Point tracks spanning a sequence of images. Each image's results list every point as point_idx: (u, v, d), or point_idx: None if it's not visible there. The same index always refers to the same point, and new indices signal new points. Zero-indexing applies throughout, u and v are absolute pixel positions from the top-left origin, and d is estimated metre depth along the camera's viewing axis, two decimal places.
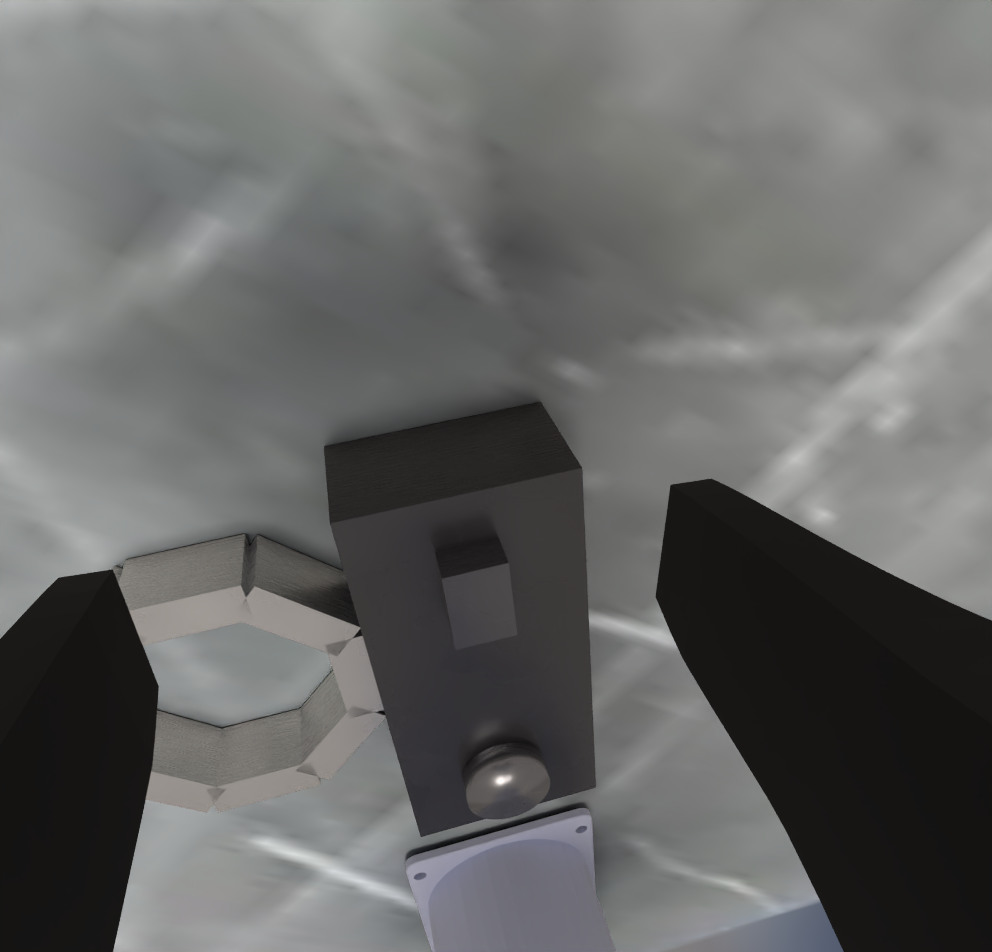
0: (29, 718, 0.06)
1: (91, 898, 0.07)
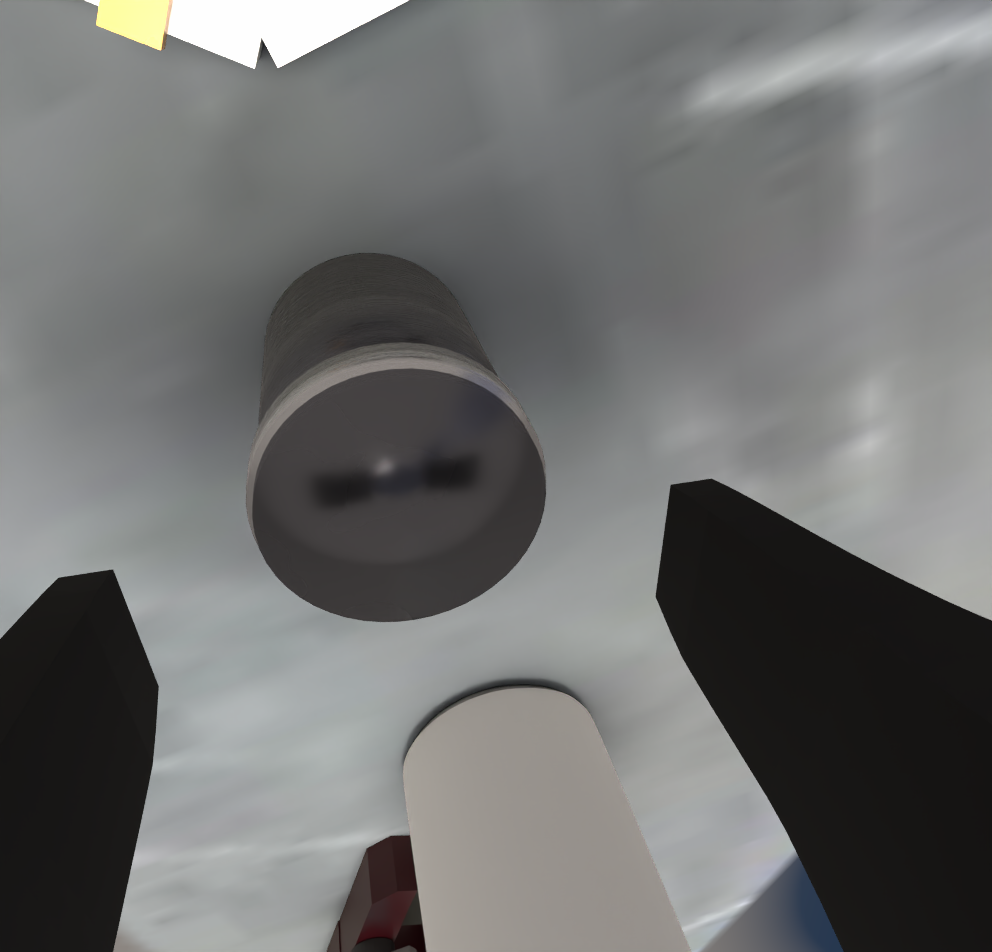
0: (29, 718, 0.06)
1: (91, 898, 0.07)
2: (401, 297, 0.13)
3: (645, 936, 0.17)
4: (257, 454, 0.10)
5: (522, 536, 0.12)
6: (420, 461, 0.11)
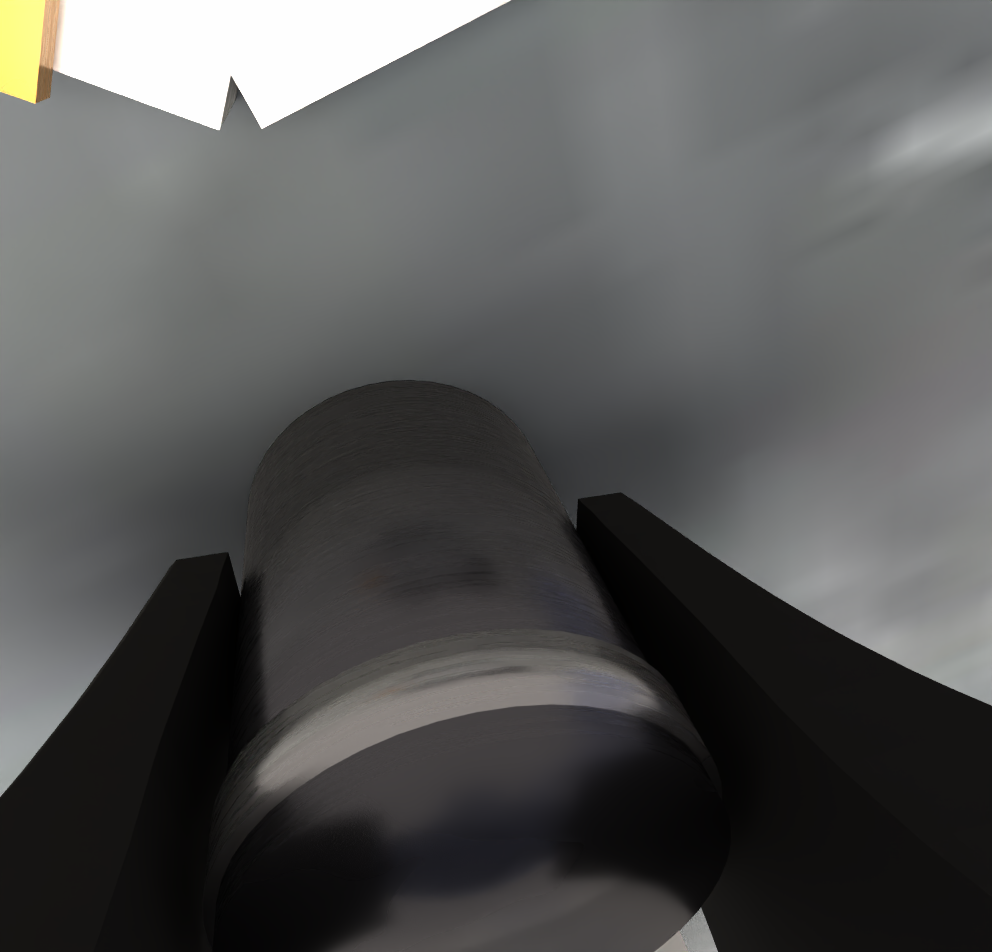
0: (186, 689, 0.07)
1: None
2: (462, 483, 0.08)
3: None
4: (221, 860, 0.06)
5: (678, 913, 0.07)
6: (523, 853, 0.06)
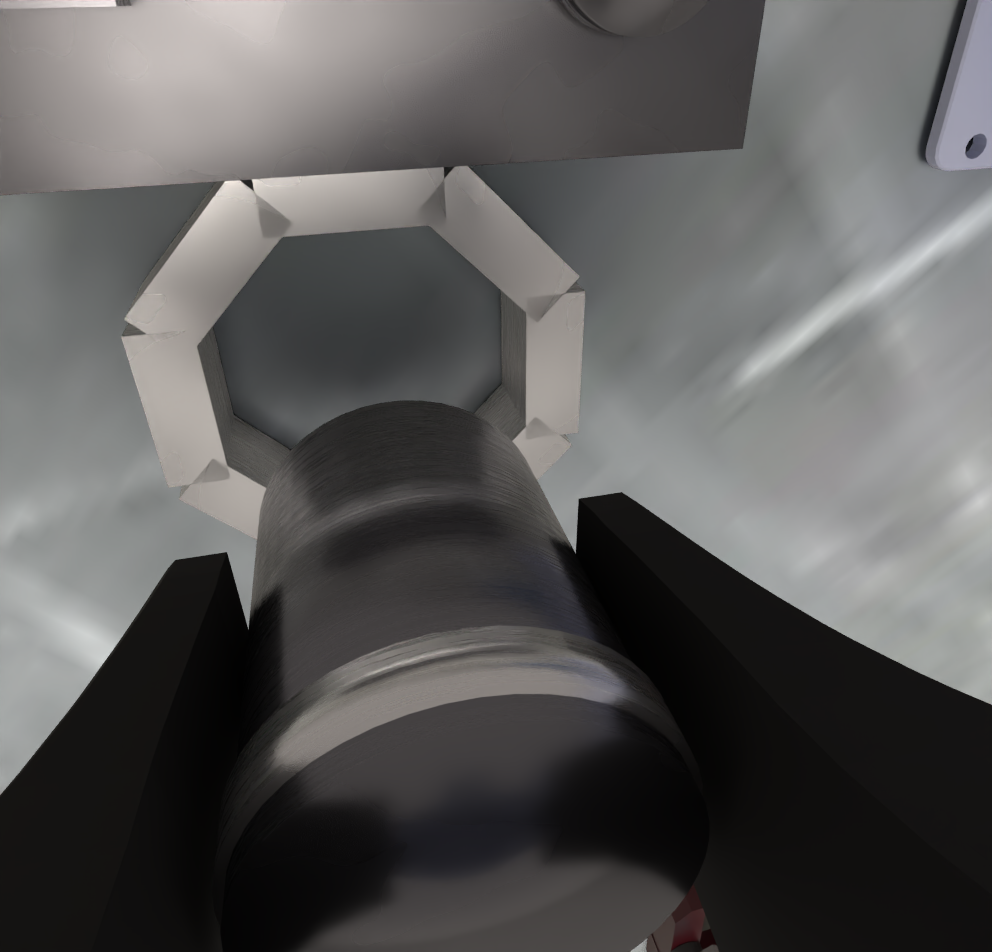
0: (184, 689, 0.07)
1: None
2: (446, 494, 0.08)
3: None
4: (224, 851, 0.06)
5: (669, 894, 0.07)
6: (503, 836, 0.06)
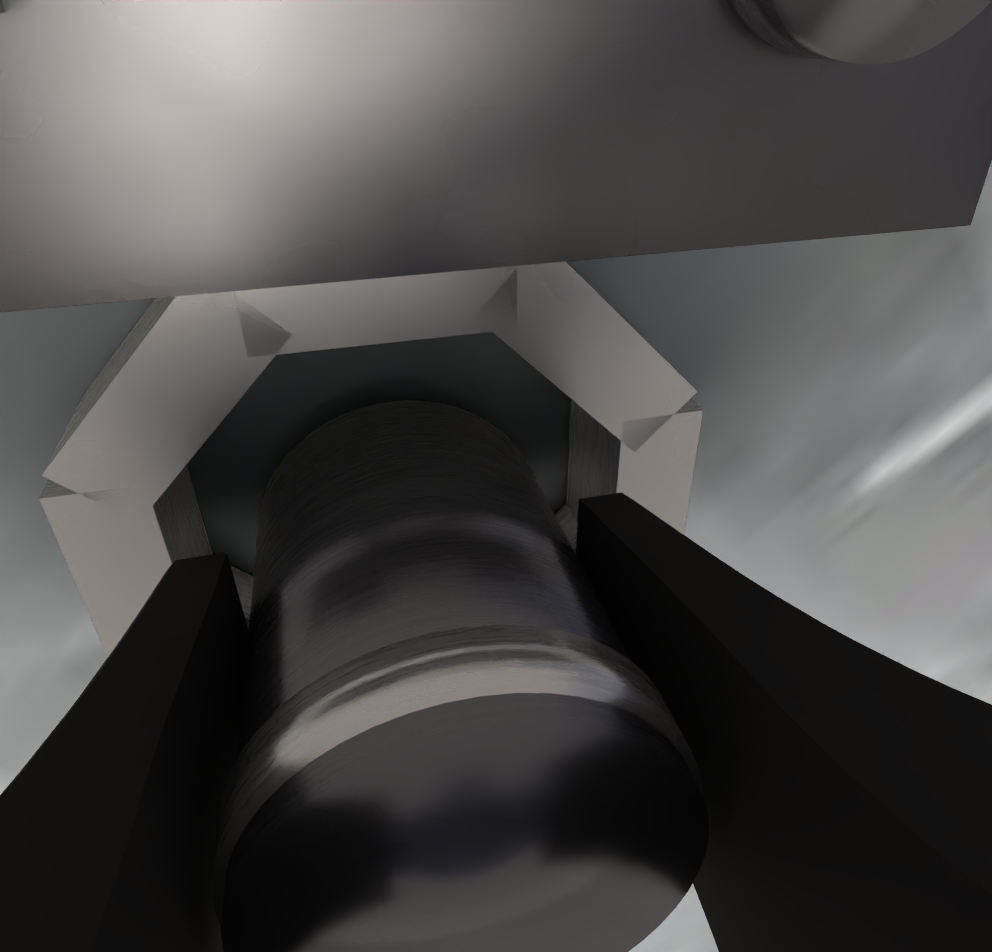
0: (184, 690, 0.07)
1: None
2: (445, 493, 0.08)
3: None
4: (224, 850, 0.06)
5: (669, 893, 0.07)
6: (503, 835, 0.06)
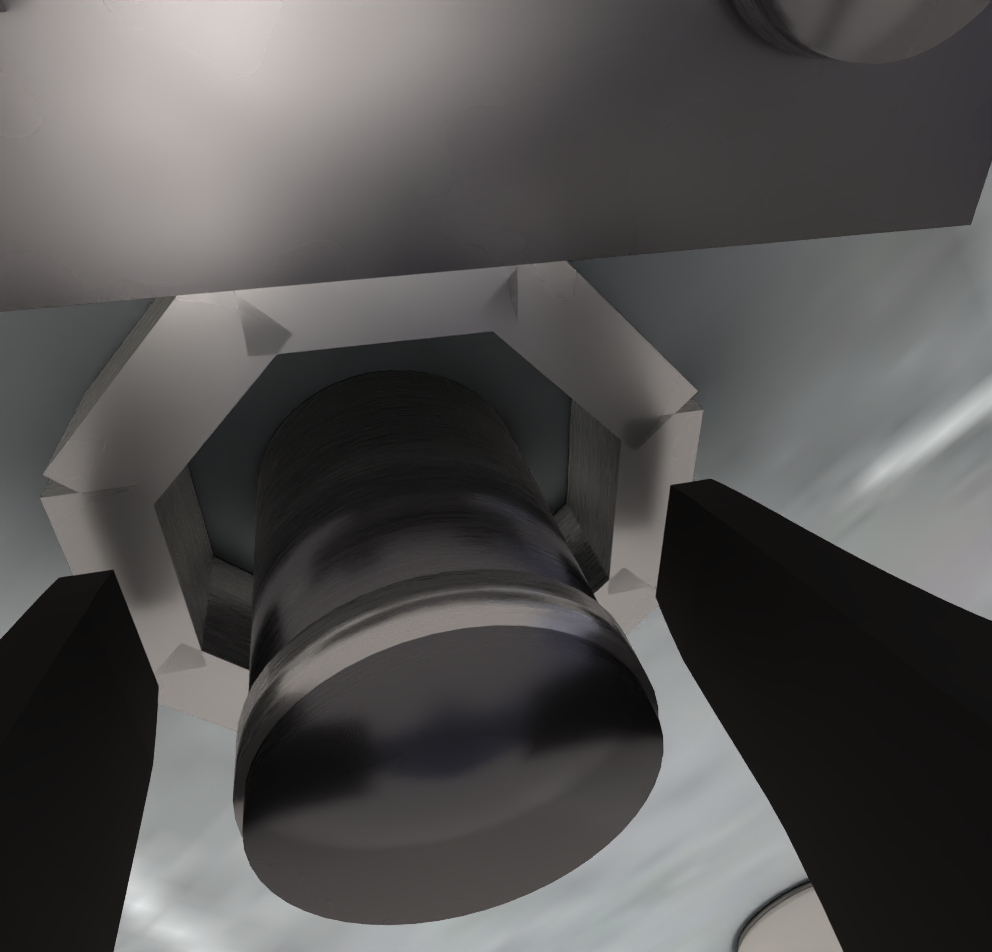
0: (30, 718, 0.06)
1: (92, 898, 0.07)
2: (432, 456, 0.09)
3: None
4: (244, 763, 0.07)
5: (629, 802, 0.08)
6: (484, 748, 0.07)
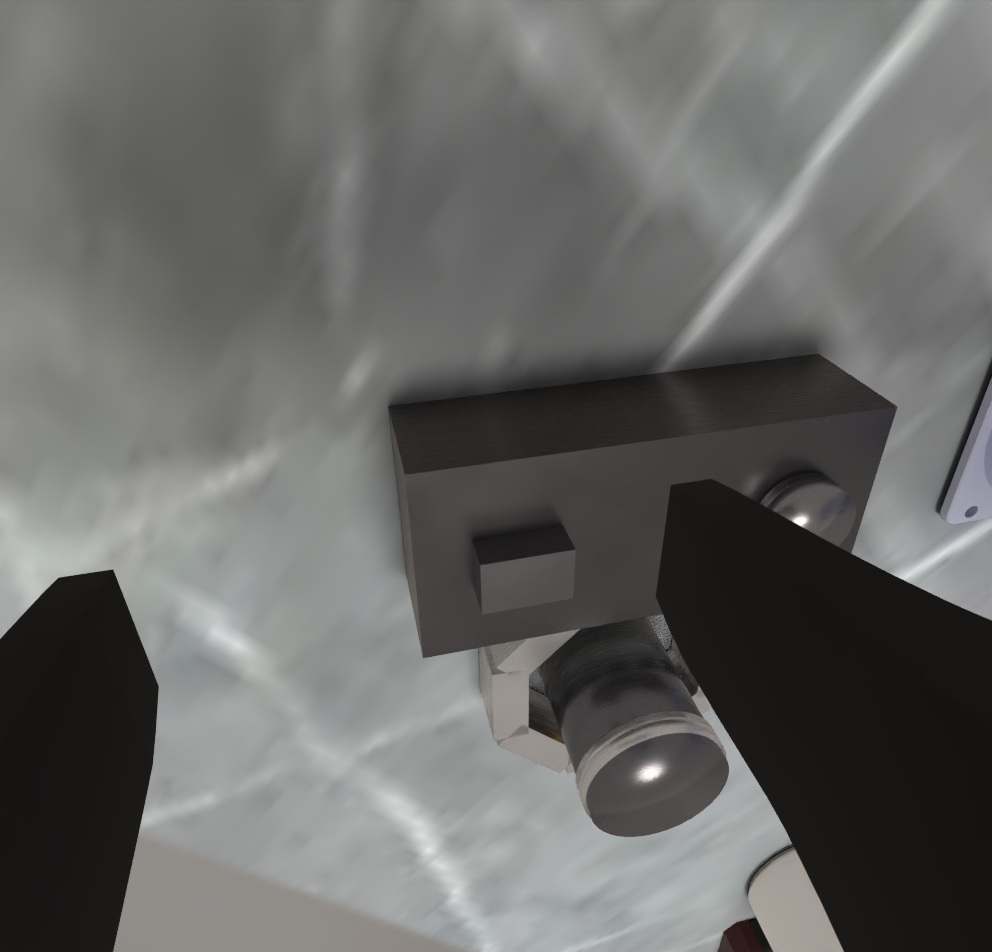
0: (30, 718, 0.06)
1: (91, 898, 0.07)
2: (634, 655, 0.24)
3: None
4: (592, 776, 0.21)
5: (715, 791, 0.23)
6: (670, 772, 0.22)
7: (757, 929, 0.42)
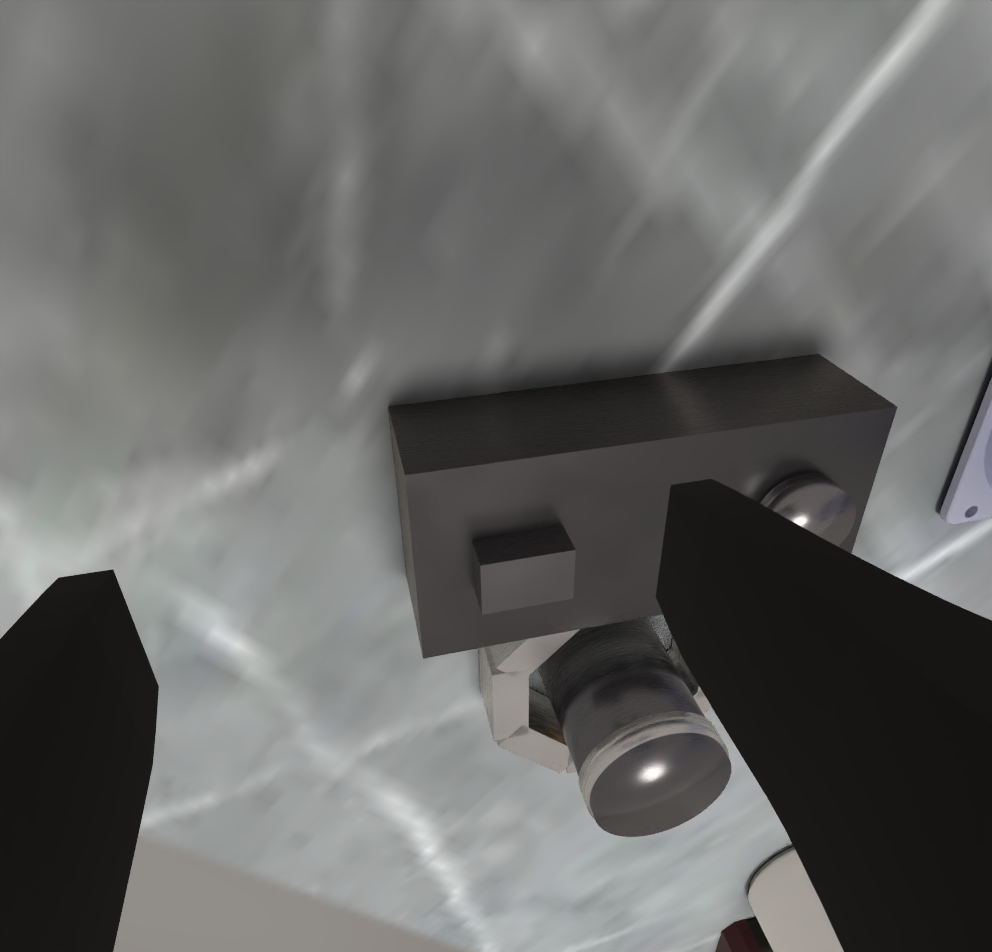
0: (29, 718, 0.06)
1: (91, 898, 0.07)
2: (635, 655, 0.24)
3: None
4: (595, 778, 0.21)
5: (718, 790, 0.23)
6: (673, 772, 0.22)
7: (755, 928, 0.42)
